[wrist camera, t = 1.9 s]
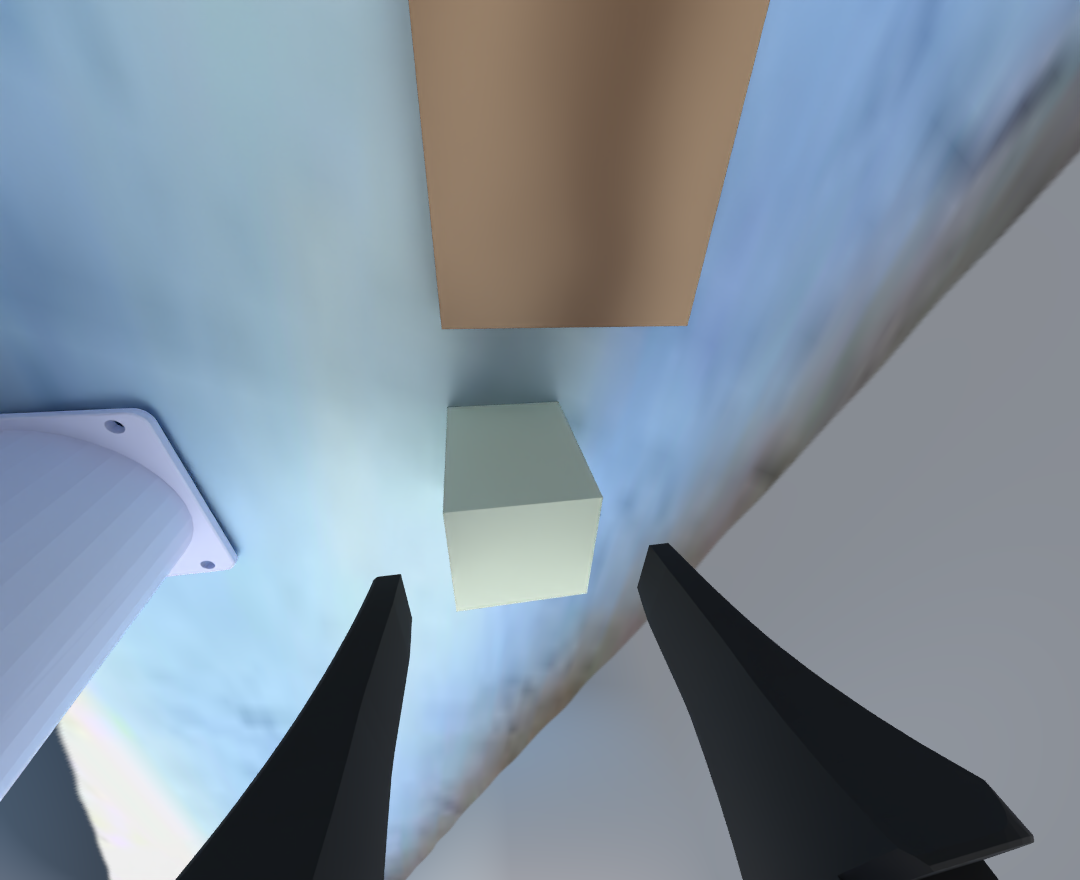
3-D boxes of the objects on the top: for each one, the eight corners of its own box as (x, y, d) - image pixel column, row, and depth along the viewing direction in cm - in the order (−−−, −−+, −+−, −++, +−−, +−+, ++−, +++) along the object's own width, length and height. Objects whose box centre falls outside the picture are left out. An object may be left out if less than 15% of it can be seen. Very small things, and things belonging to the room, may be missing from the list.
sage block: (456, 492, 18) (456, 611, 13) (447, 407, 15) (443, 512, 10) (552, 484, 18) (586, 593, 14) (557, 401, 16) (602, 497, 11)
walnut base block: (443, 306, 14) (441, 329, 11) (411, -39, 9) (398, -104, 7) (655, 305, 15) (687, 325, 13) (716, 4, 10) (779, -39, 8)
